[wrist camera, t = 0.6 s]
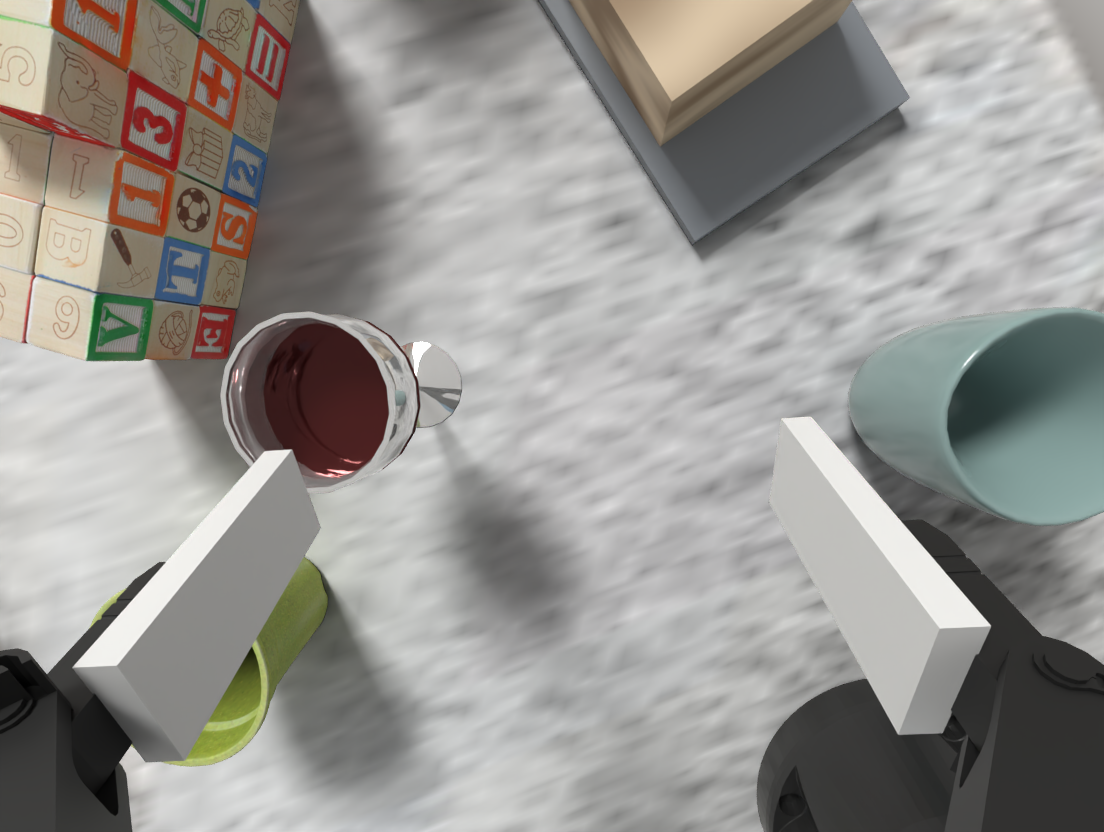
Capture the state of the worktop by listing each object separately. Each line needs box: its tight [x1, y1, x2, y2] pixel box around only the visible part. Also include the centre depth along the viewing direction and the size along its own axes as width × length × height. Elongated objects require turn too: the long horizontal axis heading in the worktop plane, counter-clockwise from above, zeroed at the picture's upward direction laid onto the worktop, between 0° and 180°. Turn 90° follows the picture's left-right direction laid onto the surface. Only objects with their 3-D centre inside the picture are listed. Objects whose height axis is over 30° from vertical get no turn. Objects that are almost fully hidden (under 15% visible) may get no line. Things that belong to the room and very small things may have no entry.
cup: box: [848, 307, 1104, 526], centre depth 24 cm, size 8×8×10 cm
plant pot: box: [90, 557, 328, 767], centre depth 29 cm, size 9×9×9 cm
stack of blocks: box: [0, 0, 300, 361], centre depth 25 cm, size 21×6×12 cm, turn 164°
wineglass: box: [220, 311, 462, 493], centre depth 25 cm, size 7×7×12 cm
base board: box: [539, 0, 910, 245], centre depth 27 cm, size 20×12×1 cm, turn 33°
